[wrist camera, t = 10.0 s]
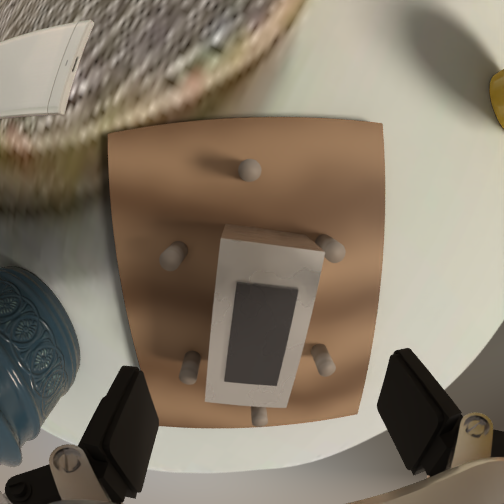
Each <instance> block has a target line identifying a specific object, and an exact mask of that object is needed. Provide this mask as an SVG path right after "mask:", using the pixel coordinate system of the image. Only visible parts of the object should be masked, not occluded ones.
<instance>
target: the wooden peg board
mask: <svg viewBox="0 0 504 504" xmlns="http://www.w3.org/2000/svg"><path fill="white" fill-rule="evenodd" d="M108 167H109V187H110V201H111V212H112V222H113V231H114V240H115V247H116V255H117V262H118V268H119V274H120V280H121V286H122V291H123V297H124V302H125V307H126V312H127V316H128V321H129V325H130V330H131V334H132V338H133V342H134V346H135V350H136V354H137V358H138V362H139V365H140V369H141V371H143V373H144V376H145V379H146V382H147V386H148V389H149V392H150V395H151V398H152V401H153V404H154V407H155V410H156V412H157V415H158V418H159V426H167V427H184V428H250V427H267V426H279V425H289V424H298V423H306V422H314V421H321V420H327V419H333V418H339V417H344V416H350V415H355V414H357V413H358V409H359V405H360V401H361V397H362V393H363V388H364V384H365V379H366V374H367V370H368V365H369V359H370V354H371V348H372V343H373V337H374V330H375V324H376V317H377V309H378V301H379V293H380V283H381V273H382V261H383V246H384V225H385V159H384V139H383V125H382V123H375V122H365V121H355V120H343V119H328V118H306V117H249V118H227V119H211V120H199V121H189V122H179V123H171V124H163V125H155V126H148V127H142V128H136V129H130V130H124V131H119V132H113V133H108ZM225 224H229V225H237V226H245V227H252V228H260V229H267V230H274V231H282V232H289V233H296V234H303V235H306V236H307V237H308V238H310V239H311V240H312V241H313V242H314V243H315V244H317V245H318V246H319V247H320V248H321V249H322V250H324V251H325V255H324V260H323V265H322V270H321V275H320V280H319V284H318V289H317V293H316V298H315V302H314V306H313V311H312V315H311V319H310V323H309V327H308V331H307V335H306V339H305V343H304V347H303V351H302V355H301V358H300V362H299V366H298V369H297V373H296V376H295V380H294V383H293V387H292V390H291V394H290V397H289V400H288V404H287V407H286V408H272V407H254V406H240V405H230V404H220V403H211V402H205V392H206V379H207V367H208V355H209V344H210V333H211V323H212V313H213V303H214V293H215V284H216V275H217V266H218V257H219V249H220V240H221V236H222V233H223V230H224V227H225Z"/></svg>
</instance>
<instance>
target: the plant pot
mask: <svg viewBox="0 0 504 504" xmlns="http://www.w3.org/2000/svg"><path fill="white" fill-rule="evenodd" d="M489 91H490V99H491V103H492V107H493V109H494V112H495V115H496V117H497V119H498V121H499V123H500V124H501V126H502V127H503V129H504V69H503V70H501V71H500V72H498V73H497V74H495V75H494V76H493V77H492V79H491V81H490V90H489Z"/></svg>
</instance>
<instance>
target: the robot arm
mask: <svg viewBox="0 0 504 504" xmlns="http://www.w3.org/2000/svg"><path fill="white" fill-rule="evenodd" d="M377 409H378V412H379V414H380V416H381V418H382V420H383V422H384V424H385V426H386V428H387V430H388V432H389V433H390V436H391V438H392V439H393V442H394V443H395V446H396V448H397V450H398V452H399V454H400V456H401V458H402V460H403V462H404V464H405V466H406V468H407V469H408V470H411V471H412V473H413V475H416V474H419V473H421V472H424V471H426V473H427V478H426V479H424V480H422V481H419V482H416V483H414V484H411V485H408V486H405V487H402V488H400V489H397V490H394V491H391V492H388V493H384V494H382V495H378V496H374V497H371V498H367V499H364V500H360V501H355V502H351V503H347V504H504V432H502V431H498V430H493V424H492V422H491V420H490V419H489V418H488V417H487V416H485V415H484V414H481V413H469V414H467V415H465V416H464V417H463V416H462V415H461V411H460V410H459V409H458V407H457V406H456V405H455V403H454V402H453V401H452V399H451V398H450V397H449V396H448V394H447V393H446V392H445V391H444V389H443V388H442V387H441V386H440V384H439V383H438V382H437V381H436V379H435V378H434V377H433V376H432V374H431V373H430V372H429V371H428V370H427V368H426V367H425V366H424V365H423V363H422V362H421V361H420V360H419V359H418V357H417V356H416V355H415V354H414V353H413V352H412V350H411V349H410V348H405V349H401V350H396V351H395V352H394V354H393V355H391V356H390V359H389V363H388V367H387V371H386V375H385V379H384V382H383V386H382V389H381V393H380V396H379V399H378V403H377ZM158 427H159V418H158V415H157V412H156V410H155V407H154V404H153V401H152V398H151V395H150V392H149V389H148V386H147V382H146V379H145V376H144V373H143V371H139V369H138V367H133V366H122V367H121V369H120V371H119V373H118V374H117V376H116V378H115V380H114V382H113V384H112V385H111V387H110V389H109V391H108V393H107V395H106V396H105V397H103V398H102V400H101V401H100V403H99V405H98V407H97V409H96V411H95V413H94V415H93V417H92V419H91V421H90V423H89V425H88V427H87V429H86V431H85V433H84V435H83V437H82V439H81V441H80V443H79V445H78V446H75V445H69V444H66V445H62V446H59V447H57V448H56V449H55V450H54V451H53V452H52V453H51V455H50V458H49V465H46V466H43V467H40V468H37V469H35V470H32V471H28V472H25V473H22V474H19V475H16V476H13V477H11V478H10V479H9V480H8V482H7V483H6V487H5V493H2V492H1V491H0V504H123V501H124V499H125V497H130V498H136V494H137V492H141V491H142V487H143V483H144V479H145V475H146V472H147V468H148V464H149V460H150V456H151V453H152V449H153V445H154V442H155V438H156V434H157V431H158Z"/></svg>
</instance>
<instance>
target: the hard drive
mask: <svg viewBox="0 0 504 504" xmlns="http://www.w3.org/2000/svg"><path fill="white" fill-rule="evenodd" d="M93 25H94V22H93V21H92V20H86V21H80V22H73V23H68V24H64V25H59V26H54V27H50V28H45V29H41V30H37V31H33V32H30V33H27V34H23V35H20V36H17V37H14V38H11V39H8V40H5V41H2V42H0V119H4V118H14V117H27V116H44V115H64V113H65V109H66V105H67V101H68V97H69V94H70V90H71V87H72V83H73V80H74V77H75V74H76V71H77V68H78V65H79V62H80V59H81V56H82V53H83V50H84V48H85V45H86V42H87V40H88V37H89V35H90V32H91V30H92V28H93Z"/></svg>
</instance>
